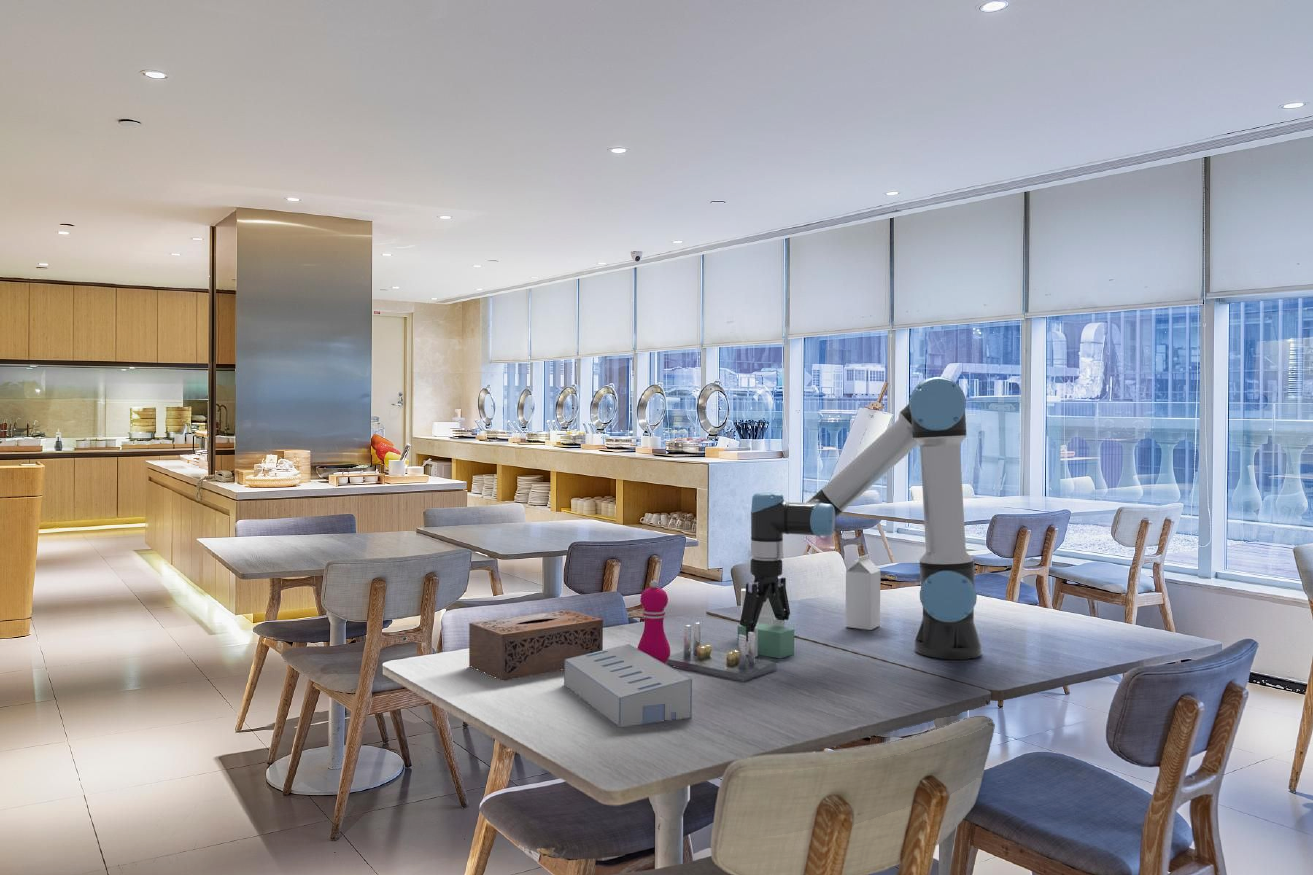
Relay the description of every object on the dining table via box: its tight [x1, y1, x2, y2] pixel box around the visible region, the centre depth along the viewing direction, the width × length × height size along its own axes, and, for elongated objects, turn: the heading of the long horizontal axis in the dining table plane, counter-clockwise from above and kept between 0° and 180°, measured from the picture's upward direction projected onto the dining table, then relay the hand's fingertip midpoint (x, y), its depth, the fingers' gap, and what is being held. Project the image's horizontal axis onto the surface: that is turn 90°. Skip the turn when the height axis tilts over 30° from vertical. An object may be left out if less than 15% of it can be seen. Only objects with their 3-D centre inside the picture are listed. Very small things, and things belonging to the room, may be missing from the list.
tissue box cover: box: [468, 609, 604, 681], centre depth 215 cm, size 26×14×10 cm, turn 128°
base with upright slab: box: [740, 588, 777, 625], centre depth 244 cm, size 9×9×12 cm
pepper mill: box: [637, 579, 671, 665], centre depth 209 cm, size 7×7×20 cm
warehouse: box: [563, 643, 693, 728], centre depth 188 cm, size 30×14×8 cm, turn 24°
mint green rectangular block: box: [737, 623, 795, 659], centre depth 229 cm, size 12×6×6 cm, turn 50°
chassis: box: [665, 621, 778, 683], centre depth 214 cm, size 22×13×8 cm, turn 50°
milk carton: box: [845, 553, 881, 631], centre depth 258 cm, size 7×7×19 cm
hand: (765, 650), depth 229 cm, fingers open, 11 cm apart
